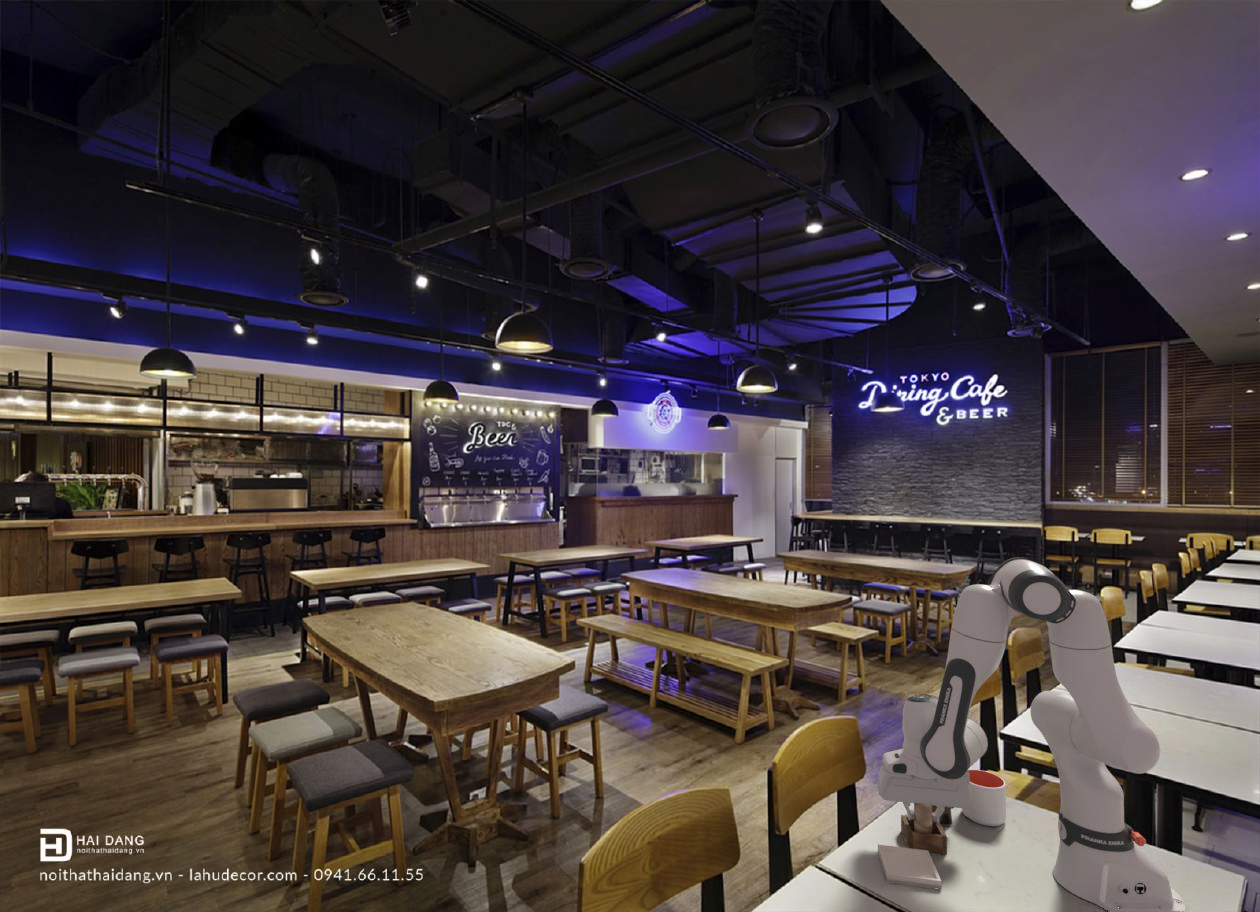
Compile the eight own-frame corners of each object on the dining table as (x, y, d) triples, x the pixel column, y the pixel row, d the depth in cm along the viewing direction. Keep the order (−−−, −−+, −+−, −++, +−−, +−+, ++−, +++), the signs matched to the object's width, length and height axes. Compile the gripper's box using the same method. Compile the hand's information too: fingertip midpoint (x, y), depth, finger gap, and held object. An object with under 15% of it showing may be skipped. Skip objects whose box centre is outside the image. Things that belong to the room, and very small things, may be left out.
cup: (1012, 830, 155) (1011, 790, 155) (968, 826, 157) (968, 786, 157) (997, 809, 165) (996, 771, 165) (956, 805, 167) (956, 767, 167)
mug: (923, 815, 162) (922, 769, 162) (941, 813, 163) (941, 767, 163) (944, 833, 154) (943, 784, 154) (963, 830, 155) (963, 781, 155)
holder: (937, 834, 153) (937, 818, 153) (947, 855, 145) (947, 837, 145) (900, 830, 155) (900, 813, 155) (908, 850, 147) (908, 833, 147)
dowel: (930, 838, 152) (929, 796, 152) (934, 848, 148) (934, 805, 148) (912, 836, 152) (912, 795, 153) (916, 845, 149) (916, 803, 149)
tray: (928, 858, 144) (928, 850, 144) (941, 889, 133) (941, 881, 133) (877, 852, 146) (877, 844, 146) (886, 882, 135) (886, 874, 135)
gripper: (965, 761, 151) (965, 818, 151) (876, 753, 156) (876, 808, 155) (973, 773, 145) (974, 833, 145) (881, 764, 150) (881, 822, 149)
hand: (923, 820), depth 150 cm, fingers closed on dowel, 4 cm apart
